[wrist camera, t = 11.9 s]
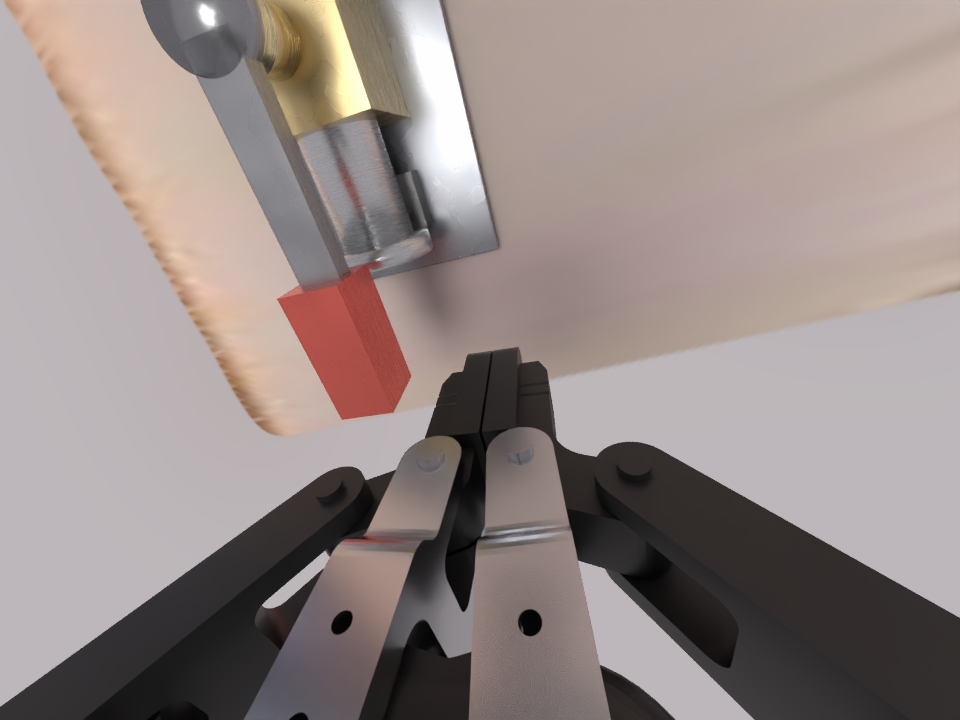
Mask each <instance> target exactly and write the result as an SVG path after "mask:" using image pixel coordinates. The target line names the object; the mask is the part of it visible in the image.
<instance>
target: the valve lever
mask: <svg viewBox="0 0 960 720" xmlns="http://www.w3.org/2000/svg"><path fill="white" fill-rule="evenodd" d="M141 4H142V7H143V11H144V14H145V17H146V19H147V22H148V24H149V26H150V28H151V30H152V32H153V34H154V36H155V37H156V39H157V41H158V42H159V43H160V45H161V46H162V48H163V49H164V50H165V51H166V53H167V54H168V55H169V56H170V57H171V58H172V59H173V60H174V61H175V62H176V63H177V64H178V65H180V66H181V67H182V68H184V69H185V70H187V71H188V72H190V73H192V74H194V75H196V77H197V79H198V81H199V83H200V85H201V87H202V89H203V91H204V93H205V95H206V97H207V99H208V101H209V103H210V105H211V107H212V109H213V111H214V113H215V115H216V117H217V119H218V121H219V123H220V125H221V127H222V129H223V131H224V133H225V135H226V137H227V139H228V141H229V143H230V145H231V147H232V149H233V151H234V153H235V155H236V157H237V159H238V161H239V163H240V165H241V167H242V169H243V171H244V173H245V176H246V178H247V180H248V182H249V184H250V186H251V188H252V190H253V192H254V194H255V196H256V198H257V200H258V202H259V204H260V206H261V208H262V210H263V212H264V214H265V216H266V218H267V220H268V222H269V224H270V226H271V228H272V230H273V232H274V234H275V236H276V238H277V240H278V242H279V244H280V246H281V248H282V250H283V252H284V254H285V256H286V258H287V260H288V262H289V264H290V266H291V268H292V270H293V272H294V274H295V276H296V278H297V280H298V282H299V284H300V285H299V286H297V287H296V288H294V289H293V290H291V291H289V292H288V293H286V294H284V295H283V296H281V297H280V298H278V299H277V300H278V301H279V303H280V305H281V307H282V309H283V311H284V313H285V314H286V316H287V318H288V320H289V322H290V324H291V326H292V328H293V329H294V331H295V333H296V335H297V337H298V339H299V341H300V342H301V344H302V346H303V348H304V350H305V352H306V354H307V356H308V357H309V359H310V361H311V363H312V365H313V367H314V369H315V370H316V372H317V374H318V376H319V378H320V380H321V382H322V383H323V385H324V387H325V389H326V391H327V393H328V395H329V397H330V398H331V400H332V402H333V404H334V406H335V408H336V410H337V411H338V413H339V415H340V417H341V419H342V420H343V419H350V418H357V417H364V416H372V415H379V414H386V413H393V412H394V410H395V408H396V406H397V404H398V402H399V400H400V398H401V396H402V394H403V392H404V390H405V388H406V386H407V384H408V382H409V380H410V378H411V374H410V372H409V369H408V367H407V364H406V362H405V359H404V357H403V354H402V351H401V349H400V346H399V344H398V341H397V339H396V336H395V334H394V331H393V329H392V326H391V324H390V321H389V319H388V316H387V314H386V311H385V308H384V306H383V303H382V301H381V298H380V296H379V293H378V291H377V288H376V286H375V283H374V281H373V278H372V276H371V273H370V271H369V268H368V265H367V263H365V264H361V265H357V266H352V267H348V265H347V262H346V260H345V258H344V255H343V253H342V250H341V248H340V246H339V243H338V241H337V239H336V236H335V234H334V231H333V229H332V227H331V224H330V222H329V220H328V217H327V215H326V212H325V210H324V208H323V205H322V203H321V201H320V198H319V196H318V193H317V191H316V189H315V186H314V184H313V182H312V179H311V177H310V174H309V172H308V170H307V167H306V165H305V163H304V160H303V158H302V155H301V153H300V151H299V148H298V146H297V144H296V141H295V139H294V136H293V134H292V132H291V129H290V127H289V125H288V122H287V120H286V117H285V115H284V113H283V110H282V108H281V106H280V103H279V101H278V98H277V96H276V94H275V91H274V89H273V87H272V84H271V82H270V79H269V77H268V74H269V72H270V71H271V69H272V67H273V65H274V62H275V58H276V53H277V31H276V25H275V21H274V17H273V14H272V11H271V8H270V6H269V4H268V2H267V0H141Z"/></svg>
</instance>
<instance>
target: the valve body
mask: <svg viewBox="0 0 960 720" xmlns="http://www.w3.org/2000/svg"><path fill="white" fill-rule="evenodd" d="M267 2H268V4H269V6H270V8H271V11H272V14H273V17H274V21H275V25H276V31H277V53H276V58H275V62H274V65H273V67H272V69H271V71H270V72H269V74H268V77H269V79H270V82H271V84H272V87H273V89H274V91H275V94H276V96H277V98H278V101H279V103H280V106H281V108H282V110H283V113H284V115H285V117H286V120H287V122H288V125H289V127H290V129H291V132H292V134H293V136H294V139H295V141H296V144H297V146H298V148H299V151H300V153H301V155H302V158H303V160H304V163H305V165H306V167H307V170H308V172H309V174H310V177H311V179H312V182H313V184H314V186H315V189H316V191H317V193H318V196H319V198H320V201H321V203H322V205H323V208H324V210H325V212H326V215H327V217H328V220H329V222H330V224H331V227H332V229H333V231H334V234H335V236H336V239H337V241H338V243H339V246H340V248H341V250H342V253H343V255H344V258H345V260H346V262H347V265H348V267H352V266H357V265H361V264H365V263H367V265H368V268H369V271H370V273H371V276H372V278H373V279H375V278H379V277H384V276H388V275H392V274H396V273H400V272H404V271H409V270H413V269H417V268H421V267H425V266H429V265H433V264H438V263H442V262H446V261H450V260H454V259H458V258H462V257H467V256H471V255H475V254H479V253H483V252H487V251H491V250H496V249H498V246H499V245H498V240H497V236H496V232H495V227H494V223H493V219H492V215H491V210H490V206H489V202H488V197H487V193H486V189H485V184H484V180H483V176H482V172H481V167H480V163H479V159H478V154H477V150H476V146H475V141H474V137H473V133H472V129H471V124H470V120H469V116H468V111H467V107H466V103H465V98H464V94H463V90H462V86H461V81H460V77H459V73H458V68H457V64H456V60H455V56H454V51H453V47H452V43H451V38H450V34H449V30H448V25H447V21H446V17H445V13H444V8H443V4H442V0H267Z"/></svg>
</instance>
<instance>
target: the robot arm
mask: <svg viewBox="0 0 960 720" xmlns="http://www.w3.org/2000/svg"><path fill="white" fill-rule="evenodd" d="M554 421H555V420H554V411H553V405H552V399H551V393H550V386H549V380H548V374H547V370H546V368H545V367H544V366H543V365H542V364H541V363H540V362H539V361H535V362H528V363H522V359H521V354H520V350H519V347H514V348H508V349H501V350H494V351H488V352H481V353H474V354H468V355H467V358H466V362H465V366H464V370H463V372H457V373H452V374H451V376H450V377H449V378H448V379H447V380H446V381H445V382H444V383H443V385H442V388H441V391H440V394H439V398H438V400H437V403H436V407H435V409H434V412H433V415H432V418H431V421H430V424H429V428H428V430H427V434H426V436H425V439H423V440H421V441H419V442H417V443H416V444H414V445H413V446H412V447H410V448H409V449H408V450H407V451H406V452H405V454H404V455H403V457H402V458H401V461H400V463H399V465H398V467H397V469H396V470H394V471H392V472H389V473H386V474H383V475H380V476H377V477H374V478H372V479H369V480H365V478H364V476H363V474H362V472H361V471H360V470H359V469H357V468H354V467H340V468H337V469H333V470H331V471H328V472H327V473H325V474H323V475H321V476H320V477H318V478H317V479H316V480H314V481H313V482H311V483H310V484H309V485H307V486H306V487H304V488H303V489H302V490H300V491H299V492H297V493H296V494H295V495H293V496H292V497H291V498H289V499H288V500H286V501H285V502H284V503H282V504H281V505H279V506H278V507H277V508H275V509H274V510H273V511H271V512H270V513H268V514H267V515H266V516H264V517H263V518H262V519H260V520H259V521H258V522H256V523H255V524H253V525H252V526H250V527H249V528H248V529H246V530H245V531H243V532H242V533H241V534H239V535H238V536H237V537H235V538H234V539H232V540H231V541H230V542H228V543H227V544H225V545H224V546H223V547H221V548H220V549H219V550H217V551H216V552H215V553H213V554H212V555H210V556H209V557H207V558H206V559H205V560H203V561H202V562H201V563H199V564H198V565H196V566H195V567H194V568H192V569H191V570H190V571H188V572H187V573H185V574H184V575H182V576H181V577H180V578H178V579H177V580H176V581H174V582H173V583H171V584H170V585H169V586H167V587H166V588H164V589H163V590H162V591H160V592H159V593H158V594H156V595H155V596H153V597H152V598H151V599H149V600H148V601H146V602H145V603H144V604H142V605H141V606H140V607H138V608H137V609H136V610H134V611H133V612H131V613H130V614H128V615H127V616H126V617H124V618H123V619H122V620H120V621H119V622H117V623H116V624H115V625H113V626H112V627H110V628H109V629H108V630H106V631H105V632H103V633H102V634H101V635H99V636H98V637H97V638H95V639H94V640H92V641H91V642H90V643H88V644H87V645H85V646H84V647H83V648H81V649H80V650H79V651H77V652H76V653H74V654H73V655H72V656H70V657H69V658H68V659H66V660H65V661H63V662H62V663H61V664H59V665H58V666H56V667H55V668H54V669H52V670H51V671H49V672H48V673H47V674H45V675H44V676H43V677H41V678H40V679H38V680H37V681H36V682H34V683H33V684H31V685H30V686H29V687H27V688H26V689H25V690H23V691H22V692H20V693H19V694H18V695H16V696H15V697H13V698H12V699H11V700H9V701H8V702H6V703H5V704H4V705H2V706H1V707H0V720H675V719H674V718H673V717H672V716H671V715H670V714H669V713H668V712H667V711H666V710H665V709H664V708H663V707H662V706H661V705H660V704H659V703H658V702H657V701H656V700H655V699H653V698H652V697H651V696H650V695H649V694H647V693H646V692H645V691H644V690H642V689H641V688H640V687H639V686H637V685H636V684H634V683H633V682H631V681H629V680H628V679H626V678H625V677H623V676H622V675H620V674H618V673H616V672H614V671H612V670H610V669H608V668H606V667H604V666H601V665H600V664H599V660H598V655H597V650H596V645H595V640H594V635H593V630H592V626H591V621H590V616H589V611H588V607H587V602H586V597H585V592H584V587H583V582H582V578H581V573H580V568H579V563H578V561H582V562H585V563H588V564H592V565H595V566H598V567H602V568H605V569H606V571H607V573H608V575H609V576H610V578H611V579H612V580H613V581H614V582H615V583H616V584H617V585H618V586H619V587H620V588H621V589H622V590H623V591H624V592H625V593H626V594H627V595H628V596H629V597H630V598H631V599H632V600H633V601H634V602H635V603H636V604H637V605H639V607H640V608H641V609H642V610H644V612H645V613H646V614H647V615H648V616H650V617H651V618H652V619H653V620H654V621H655V622H656V623H657V624H658V625H659V626H660V627H661V628H662V629H663V630H664V631H665V632H666V633H667V634H668V635H669V636H670V637H671V638H672V639H673V640H674V641H675V642H676V643H677V644H678V645H679V646H680V647H681V648H682V649H683V650H684V651H685V652H686V653H687V654H688V655H689V656H690V657H691V658H692V659H693V660H694V661H695V662H696V663H697V664H698V665H699V666H700V667H701V668H702V669H703V670H705V671H706V672H707V673H708V674H709V675H710V676H711V677H712V678H713V679H714V680H715V681H716V682H717V683H718V684H719V685H720V686H721V687H722V688H723V689H724V690H725V691H726V692H727V693H728V694H729V695H730V696H731V697H732V698H733V699H734V700H735V701H736V702H737V703H738V704H739V705H740V706H741V707H742V708H743V709H744V710H745V711H746V712H747V713H748V714H749V715H750V716H752V717H753V719H755V720H960V618H959V617H957V616H955V615H954V614H952V613H950V612H948V611H946V610H945V609H943V608H941V607H939V606H937V605H936V604H934V603H932V602H930V601H928V600H927V599H925V598H923V597H921V596H920V595H918V594H916V593H914V592H912V591H911V590H909V589H907V588H905V587H904V586H902V585H900V584H898V583H896V582H895V581H893V580H891V579H889V578H887V577H886V576H884V575H882V574H880V573H879V572H877V571H875V570H873V569H871V568H870V567H868V566H866V565H864V564H863V563H861V562H859V561H857V560H856V559H854V558H852V557H850V556H849V555H847V554H845V553H843V552H841V551H839V550H838V549H836V548H834V547H832V546H831V545H829V544H827V543H825V542H824V541H822V540H820V539H818V538H816V537H815V536H813V535H811V534H809V533H808V532H806V531H804V530H802V529H800V528H799V527H797V526H795V525H793V524H792V523H790V522H788V521H786V520H784V519H783V518H781V517H779V516H777V515H776V514H774V513H772V512H770V511H768V510H766V509H765V508H763V507H761V506H759V505H758V504H756V503H754V502H752V501H751V500H749V499H747V498H745V497H743V496H742V495H740V494H738V493H736V492H735V491H733V490H731V489H729V488H727V487H726V486H724V485H722V484H720V483H718V482H717V481H715V480H713V479H711V478H710V477H708V476H706V475H704V474H702V473H700V472H699V471H697V470H695V469H694V468H692V467H690V466H688V465H686V464H685V463H683V462H681V461H679V460H678V459H676V458H674V457H672V456H670V455H669V454H667V453H665V452H663V451H662V450H660V449H658V448H655V447H654V446H651V445H648V444H644V443H639V442H623V443H617V444H614V445H611V446H609V447H607V448H605V449H604V450H603V451H601V452H600V453H599V455H598V456H597V457H594V456H588V455H582V454H578V453H575V452H572V451H570V450H568V449H566V448H565V447H563V446H562V445H561V444H560V443H559V442H558V441H557V438H556V429H555V422H554ZM324 551H326V552H327V554H328V555H329V557H330V558H329V560H328V562H327V564H326V566H325V568H324V569H322V570H321V571H320V572H319V573H318V574H317V575H316V576H314V577H313V578H312V579H311V580H310V581H309V582H308V583H307V584H305V585H304V586H303V587H302V588H301V589H300V590H299V591H297V592H296V593H295V594H294V595H293V596H292V597H290V598H289V599H288V600H287V601H286V602H285V603H283V604H282V605H280V606H278V607H275V608H271V609H268V608H264V607H263V606H262V604H263V603H264V602H265V601H266V600H267V599H268V598H269V597H271V596H272V595H273V594H274V593H275V592H277V591H278V590H279V589H280V588H281V587H283V586H284V585H285V584H286V583H287V582H288V581H289V580H291V579H292V578H293V577H294V576H295V575H297V574H298V573H299V572H300V571H301V570H303V569H304V568H305V567H306V566H307V565H308V564H310V563H311V562H312V561H313V560H314V559H315V558H317V557H318V556H319V555H320V554H321V553H323V552H324Z"/></svg>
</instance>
